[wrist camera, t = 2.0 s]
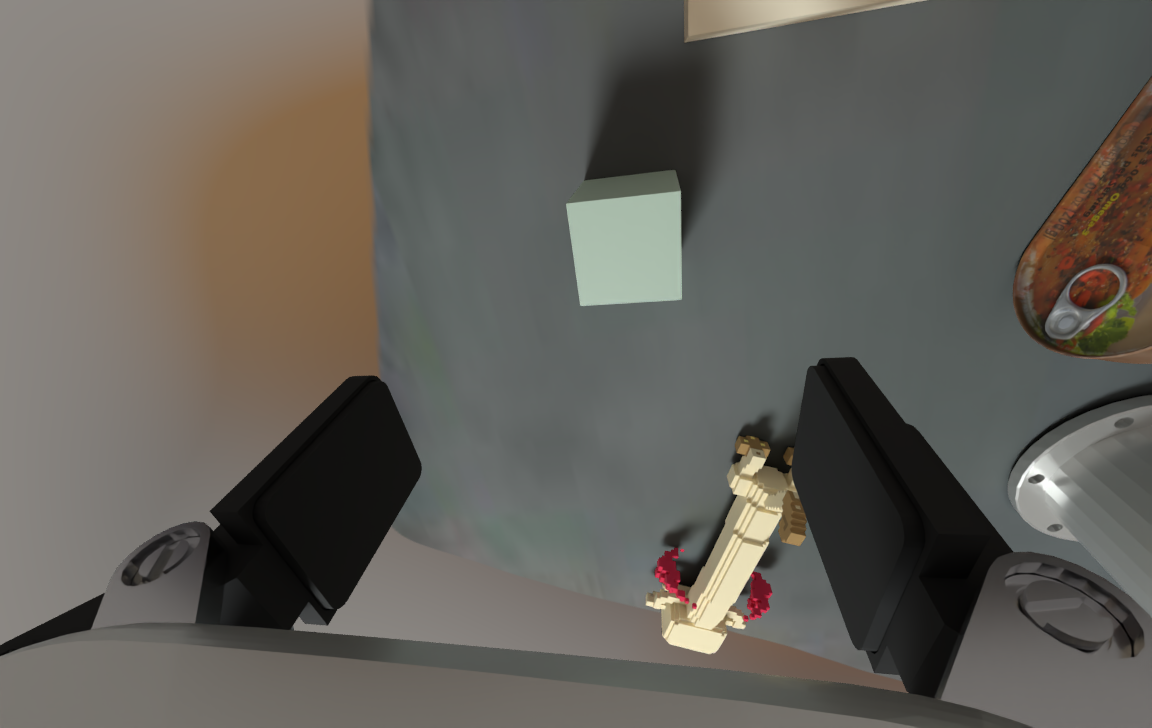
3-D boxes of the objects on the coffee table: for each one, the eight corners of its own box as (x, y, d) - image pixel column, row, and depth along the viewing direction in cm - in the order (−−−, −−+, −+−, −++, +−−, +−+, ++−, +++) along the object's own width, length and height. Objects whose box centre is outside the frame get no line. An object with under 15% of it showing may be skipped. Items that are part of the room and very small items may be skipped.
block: (675, 169, 23) (680, 190, 18) (676, 259, 26) (681, 299, 21) (584, 180, 24) (566, 203, 19) (594, 265, 27) (580, 305, 22)
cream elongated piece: (707, 415, 34) (632, 608, 45) (725, 497, 26) (629, 704, 38) (836, 444, 33) (726, 631, 45) (894, 536, 25) (743, 733, 37)
